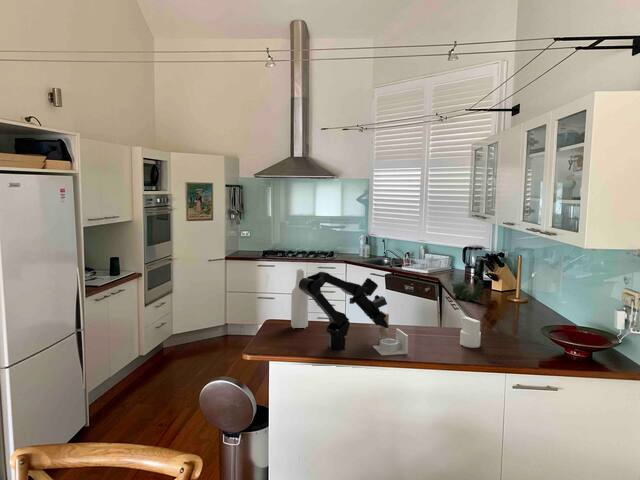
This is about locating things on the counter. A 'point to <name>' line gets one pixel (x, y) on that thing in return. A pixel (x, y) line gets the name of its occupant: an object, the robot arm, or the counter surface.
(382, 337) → the maple rail post
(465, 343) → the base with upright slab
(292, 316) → the alcohol
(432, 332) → the counter surface
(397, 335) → the cup bracket
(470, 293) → the toy figurine
